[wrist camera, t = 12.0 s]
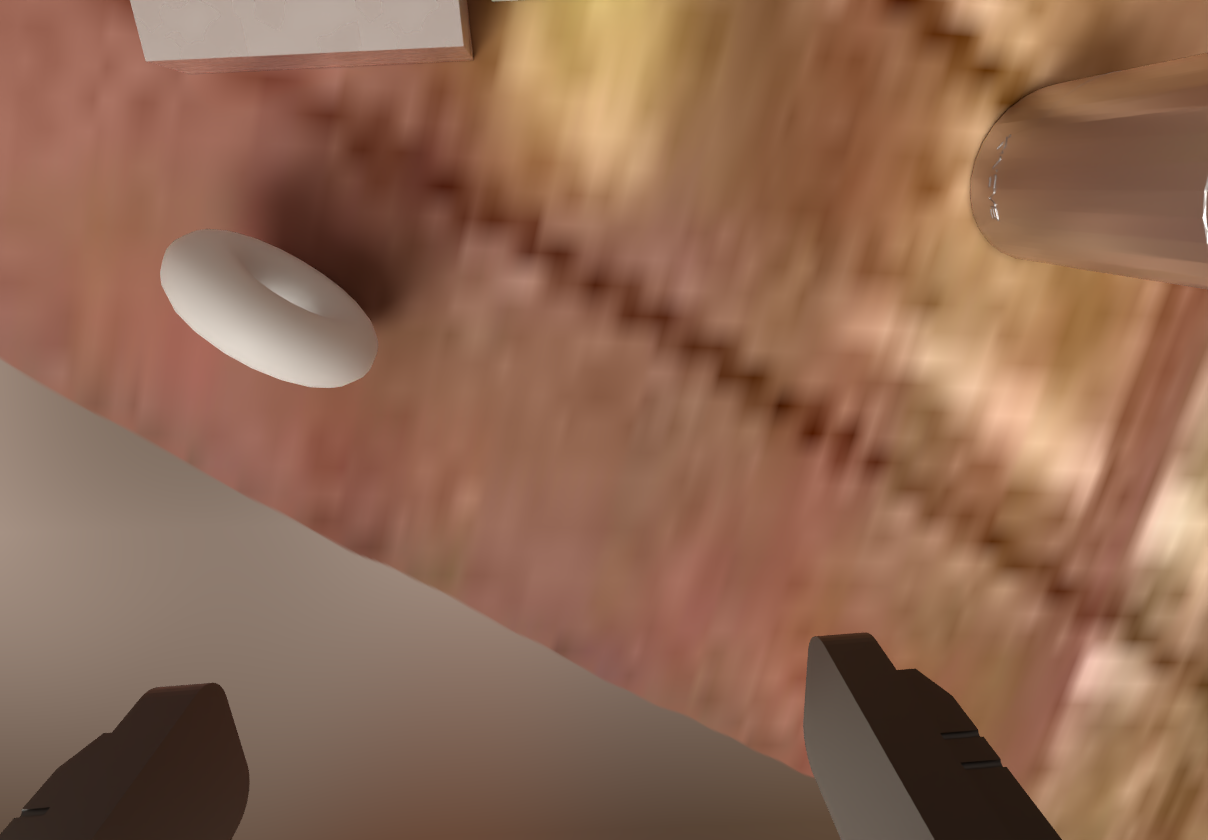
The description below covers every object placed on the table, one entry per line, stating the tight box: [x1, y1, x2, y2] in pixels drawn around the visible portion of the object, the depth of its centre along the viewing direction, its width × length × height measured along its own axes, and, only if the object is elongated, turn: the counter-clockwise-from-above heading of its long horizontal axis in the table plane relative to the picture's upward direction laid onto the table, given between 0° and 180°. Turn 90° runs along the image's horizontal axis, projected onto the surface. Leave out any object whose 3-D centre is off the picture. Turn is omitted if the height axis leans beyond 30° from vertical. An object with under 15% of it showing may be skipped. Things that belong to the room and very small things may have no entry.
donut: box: [160, 229, 378, 388], centre depth 32 cm, size 10×3×10 cm, turn 52°
